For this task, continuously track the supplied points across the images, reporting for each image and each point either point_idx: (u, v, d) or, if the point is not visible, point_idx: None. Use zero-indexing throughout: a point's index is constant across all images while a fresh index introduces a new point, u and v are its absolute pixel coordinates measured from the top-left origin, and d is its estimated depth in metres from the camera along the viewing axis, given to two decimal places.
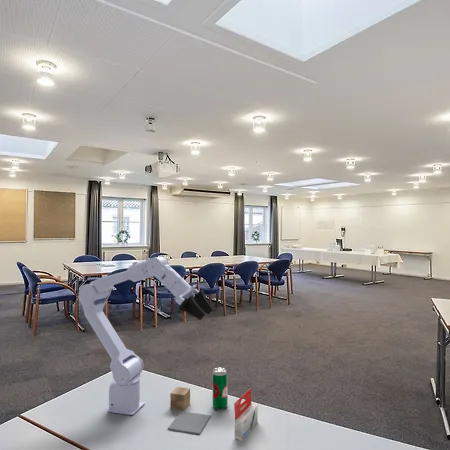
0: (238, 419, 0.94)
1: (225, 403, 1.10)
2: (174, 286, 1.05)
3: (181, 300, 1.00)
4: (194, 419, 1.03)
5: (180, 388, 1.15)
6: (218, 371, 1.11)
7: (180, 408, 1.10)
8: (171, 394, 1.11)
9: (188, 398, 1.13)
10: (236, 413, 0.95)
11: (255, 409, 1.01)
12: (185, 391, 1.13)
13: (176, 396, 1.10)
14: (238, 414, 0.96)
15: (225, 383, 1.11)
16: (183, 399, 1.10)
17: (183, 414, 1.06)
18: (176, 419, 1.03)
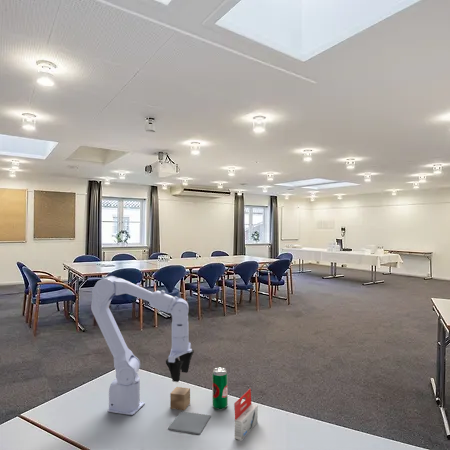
0: (238, 419, 0.94)
1: (225, 403, 1.10)
2: (177, 339, 1.11)
3: (172, 361, 1.06)
4: (194, 419, 1.03)
5: (180, 388, 1.15)
6: (218, 371, 1.11)
7: (180, 408, 1.10)
8: (171, 394, 1.11)
9: (188, 398, 1.13)
10: (236, 413, 0.95)
11: (255, 409, 1.01)
12: (185, 391, 1.13)
13: (176, 396, 1.10)
14: (238, 414, 0.96)
15: (225, 383, 1.11)
16: (183, 399, 1.10)
17: (183, 414, 1.06)
18: (176, 419, 1.03)
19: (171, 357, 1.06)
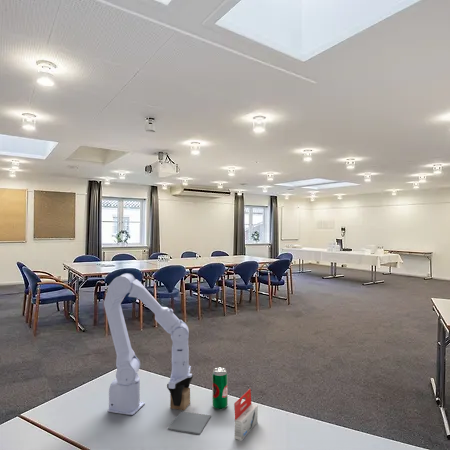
0: (238, 419, 0.94)
1: (225, 403, 1.10)
2: (177, 364, 1.10)
3: (172, 387, 1.06)
4: (194, 419, 1.03)
5: None
6: (218, 371, 1.11)
7: (180, 408, 1.10)
8: None
9: (188, 398, 1.13)
10: (236, 413, 0.95)
11: (255, 409, 1.01)
12: (185, 390, 1.13)
13: None
14: (238, 415, 0.96)
15: (225, 383, 1.11)
16: (183, 399, 1.10)
17: (183, 414, 1.06)
18: (176, 419, 1.03)
19: (171, 383, 1.06)
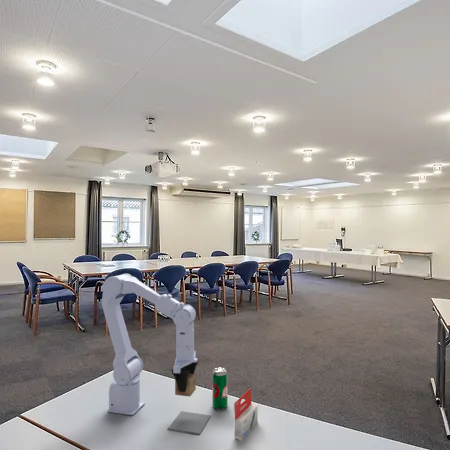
0: (238, 419, 0.94)
1: (225, 403, 1.10)
2: (182, 348, 1.05)
3: (177, 371, 1.00)
4: (194, 419, 1.03)
5: None
6: (218, 371, 1.11)
7: (185, 394, 1.04)
8: None
9: (194, 384, 1.08)
10: (236, 413, 0.95)
11: (255, 409, 1.01)
12: (190, 376, 1.07)
13: None
14: (238, 414, 0.96)
15: (225, 383, 1.11)
16: (189, 384, 1.04)
17: (183, 414, 1.06)
18: (176, 419, 1.03)
19: (176, 368, 1.01)
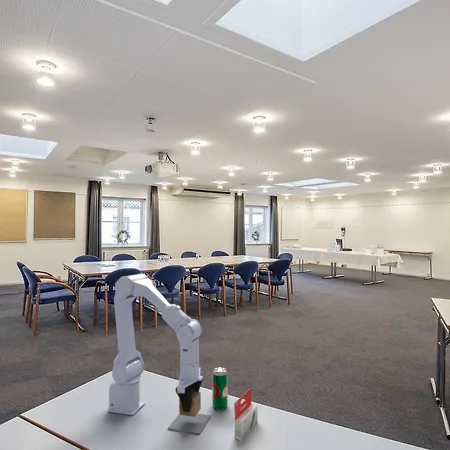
0: (238, 419, 0.94)
1: (225, 403, 1.10)
2: (187, 366, 1.00)
3: (182, 391, 0.95)
4: (194, 419, 1.03)
5: None
6: (218, 371, 1.11)
7: (190, 414, 0.99)
8: None
9: (199, 403, 1.03)
10: (236, 413, 0.95)
11: (255, 409, 1.01)
12: (195, 395, 1.02)
13: None
14: (238, 414, 0.96)
15: (225, 383, 1.11)
16: (193, 404, 0.99)
17: None
18: (176, 419, 1.03)
19: (180, 387, 0.96)
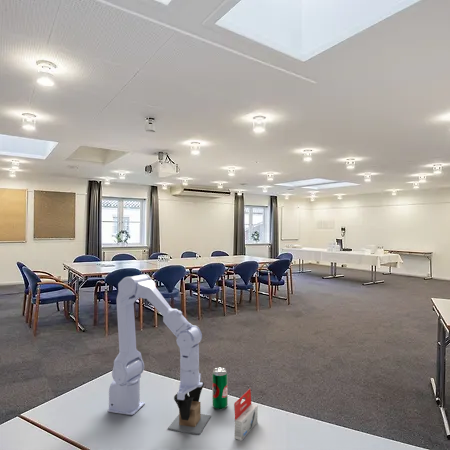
0: (238, 419, 0.94)
1: (225, 403, 1.10)
2: (187, 373, 1.00)
3: (182, 398, 0.95)
4: None
5: None
6: (218, 371, 1.11)
7: (190, 424, 0.99)
8: None
9: (198, 413, 1.02)
10: (236, 413, 0.95)
11: (255, 409, 1.01)
12: (195, 405, 1.02)
13: None
14: (238, 414, 0.96)
15: (225, 383, 1.11)
16: (193, 414, 0.99)
17: None
18: (176, 419, 1.03)
19: (180, 394, 0.95)
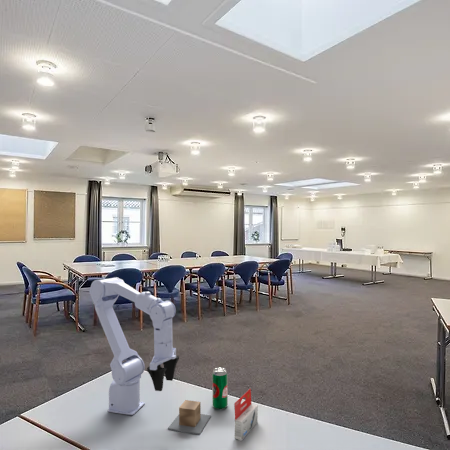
0: (238, 419, 0.94)
1: (225, 403, 1.10)
2: (160, 345, 1.03)
3: (154, 368, 0.98)
4: None
5: (189, 401, 1.04)
6: (218, 371, 1.11)
7: (190, 424, 0.99)
8: (180, 409, 1.00)
9: (198, 413, 1.02)
10: (236, 413, 0.95)
11: (255, 409, 1.01)
12: (195, 405, 1.02)
13: (186, 411, 1.00)
14: (238, 414, 0.96)
15: (225, 383, 1.11)
16: (193, 414, 0.99)
17: None
18: (176, 419, 1.03)
19: (152, 364, 0.98)
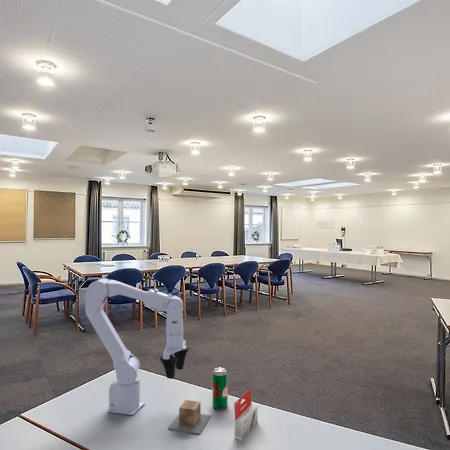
0: (238, 419, 0.94)
1: (225, 403, 1.10)
2: (172, 336, 1.11)
3: (167, 358, 1.07)
4: None
5: (189, 401, 1.04)
6: (218, 371, 1.11)
7: (190, 424, 0.99)
8: (180, 409, 1.00)
9: (198, 413, 1.02)
10: (236, 413, 0.95)
11: (255, 409, 1.01)
12: (195, 405, 1.02)
13: (186, 411, 1.00)
14: (238, 415, 0.96)
15: (225, 383, 1.11)
16: (193, 414, 0.99)
17: None
18: (176, 419, 1.03)
19: (165, 354, 1.07)
